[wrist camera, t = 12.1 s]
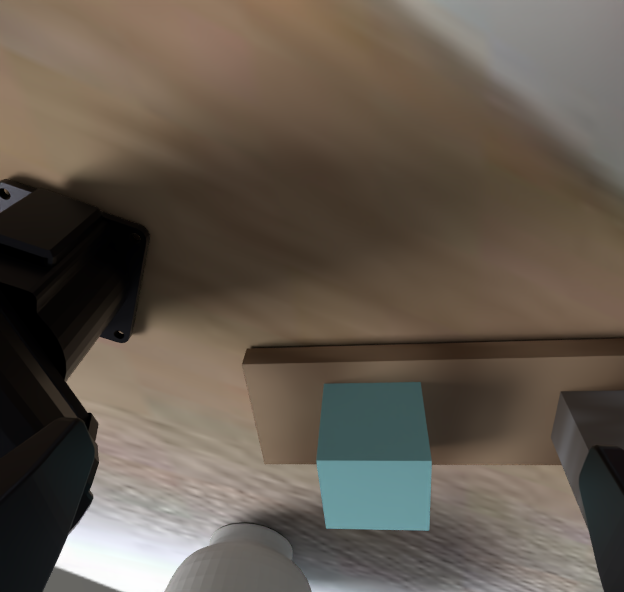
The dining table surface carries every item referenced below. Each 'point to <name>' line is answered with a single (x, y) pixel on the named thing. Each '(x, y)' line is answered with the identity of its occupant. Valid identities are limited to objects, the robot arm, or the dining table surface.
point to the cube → (374, 457)
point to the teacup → (241, 564)
